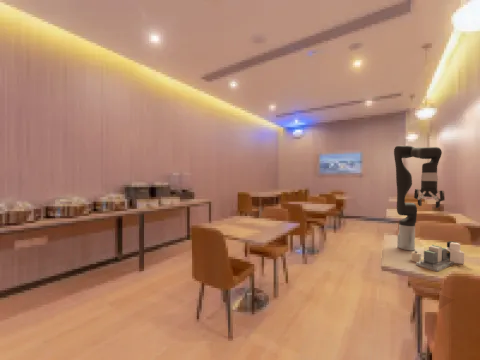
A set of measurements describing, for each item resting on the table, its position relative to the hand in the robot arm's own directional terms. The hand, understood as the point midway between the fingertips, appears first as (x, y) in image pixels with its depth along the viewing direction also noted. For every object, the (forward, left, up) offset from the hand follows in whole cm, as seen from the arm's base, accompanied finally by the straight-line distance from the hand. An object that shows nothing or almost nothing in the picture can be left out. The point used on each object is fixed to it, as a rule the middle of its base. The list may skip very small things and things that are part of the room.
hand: (428, 206), depth 136 cm
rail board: (+4, 0, -34) cm, 34 cm away
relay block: (-4, -3, -34) cm, 35 cm away
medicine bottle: (+7, +16, -34) cm, 38 cm away
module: (+4, 0, -31) cm, 32 cm away
